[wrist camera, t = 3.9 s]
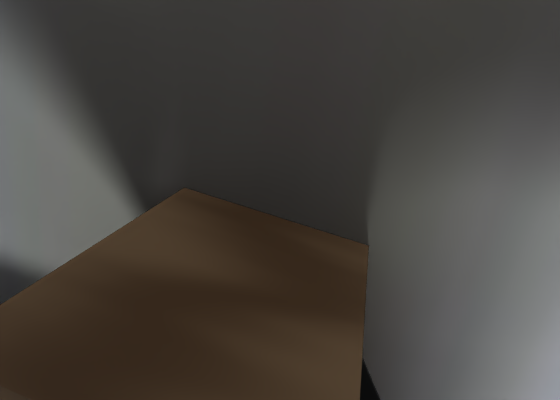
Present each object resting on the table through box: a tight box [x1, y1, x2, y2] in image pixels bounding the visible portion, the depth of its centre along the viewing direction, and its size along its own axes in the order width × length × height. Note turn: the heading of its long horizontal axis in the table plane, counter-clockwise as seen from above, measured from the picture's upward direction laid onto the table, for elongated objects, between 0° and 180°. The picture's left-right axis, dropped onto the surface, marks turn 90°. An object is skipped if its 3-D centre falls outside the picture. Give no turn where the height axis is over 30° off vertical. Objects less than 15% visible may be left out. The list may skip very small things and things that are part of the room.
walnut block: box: [0, 188, 369, 400], centre depth 7 cm, size 5×5×6 cm
